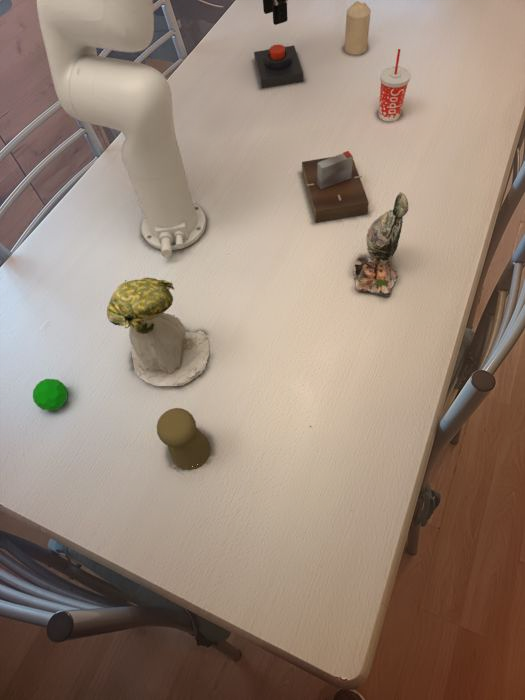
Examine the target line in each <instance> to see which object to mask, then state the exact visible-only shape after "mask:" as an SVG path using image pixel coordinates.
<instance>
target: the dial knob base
mask: <svg viewBox="0 0 525 700" xmlns="http://www.w3.org/2000/svg"><path fill="white" fill-rule="evenodd" d="M332 157H333V156H329V157H322V158H316V159H311V160H305V161H302V162H301V175H302V179H303V182H304V185H305V189H306V193H307V196H308V200H309V205H310V208H311V212H312V215H313V219H314V222H315V224H316V223H322V222H323V223H324V222H328V221H329V222H330V221H334V220H335V221H336V220H342V219H347V218H354V217H360V216H364V215H365V216H366V215H368V212H369V211H368V210H369V204H370V203H369V200H368V197H367V194H366V191H365V189H364V186H363V182H362V180H361V178H363V177H362V175H359V172H358V169H357V165H356V162H355V160H354V159H353V164H352V175H351V178H350V179H348V180H345V181H343V182H340V183H337V184H335V185H332V186H329V187H327V188H324V189H320V187H319V186H318V185H317V163H318V162H321V161H323V160H326V159H329V158H332Z"/></svg>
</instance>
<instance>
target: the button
mask: <svg viewBox="0 0 525 700" xmlns="http://www.w3.org/2000/svg"><path fill="white" fill-rule="evenodd" d="M285 47H286V46H284V44H273V45H272V46H270V47H269V49H270V58H271V59H275V60H278V59H282V58H284V57H285Z"/></svg>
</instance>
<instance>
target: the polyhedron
mask: <svg viewBox="0 0 525 700" xmlns="http://www.w3.org/2000/svg"><path fill="white" fill-rule="evenodd" d="M32 399H33V402H34V404H35V405H36V406H37V407H38V408H40V409H41V410H43V411H55V410H58V409H60V408H62V407H63V405H65V403H66V401H67V399H68V389H67V386H66V385H65V384H64V383H63V382H61V381H60V380H59V379H55V378H45V379H43V380H41V381H39V382H38V383H37V384H36V385H35V386H34V388H33V390H32Z"/></svg>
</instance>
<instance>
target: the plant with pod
mask: <svg viewBox="0 0 525 700" xmlns="http://www.w3.org/2000/svg"><path fill="white" fill-rule="evenodd" d="M408 212H409V201H408V197H407V196H406V194H405V193H403V192H401V191H400V192H399V193H398V194H397V196H396V198H395V201H394V205H393V209H389V210H388V211H385V212H384V213H383V214H381V215H380V216H379V217H377V218H376V219H375V220H374V221H373V222H372V223H371V225H370V227H368V229H367V232H366V237H365V238H366V247H367V249H366V251H367V253H368V254H369V256H370V257H371V258H370V257H366V256H361V257H357V258H356V262H355V264H354V266H353V269H352V272H353V276H354V277H353V280H354V281H355V290H356V291H358V292H361V293H362V292H365V293H367V292H369V293H371V294H372V293H374V295H381V297H384V298H385V297H388V296H390V295H391V292H392V290H393V287H394V285H395V283H396V281H397V279H398V273H397V270H395V267H394V264H393V262H392V261H391V260H392V259H393V257H394V255H395V253H396V251H397V250H398V247H399V241H400V238H401V233H402V228H403V223H404V220H403V219H404V218H403V217H405V216H406V214H407V213H408Z"/></svg>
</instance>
